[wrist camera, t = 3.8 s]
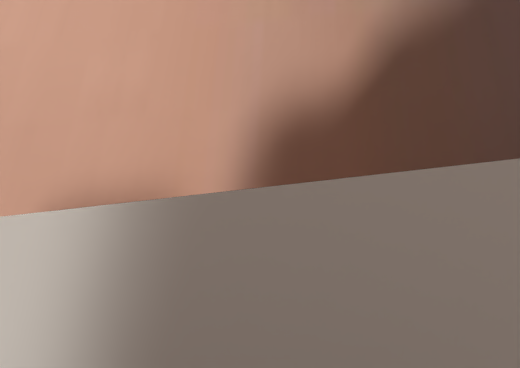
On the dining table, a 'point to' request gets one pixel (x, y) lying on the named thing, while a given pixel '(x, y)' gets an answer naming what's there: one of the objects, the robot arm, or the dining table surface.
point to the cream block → (274, 277)
